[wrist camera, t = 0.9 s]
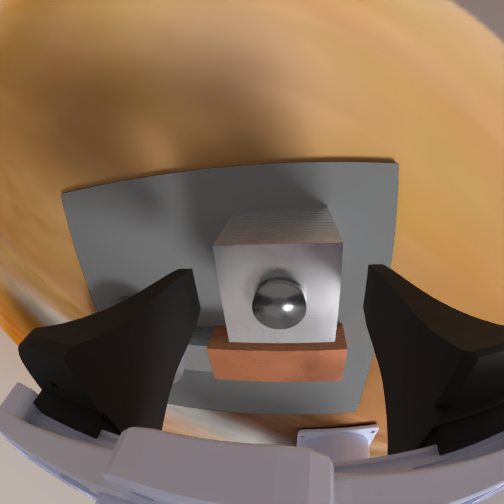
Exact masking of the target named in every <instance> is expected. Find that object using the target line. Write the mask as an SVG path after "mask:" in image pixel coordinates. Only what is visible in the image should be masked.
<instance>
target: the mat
mask: <svg viewBox="0 0 504 504" xmlns="http://www.w3.org/2000/svg"><path fill="white" fill-rule="evenodd" d="M398 171H399V164H398V163H388V162H348V161H331V162H290V163H269V164H254V165H240V166H229V167H218V168H208V169H199V170H191V171H183V172H175V173H168V174H161V175H154V176H148V177H142V178H136V179H130V180H124V181H119V182H113V183H108V184H103V185H98V186H93V187H89V188H84V189H79V190H75V191H71V192H66V193H63V194H61V197H62V202H63V206H64V210H65V214H66V218H67V222H68V226H69V229H70V233H71V236H72V240H73V243H74V247H75V250H76V253H77V256H78V259H79V262H80V265H81V268H82V271H83V274H84V277H85V280H86V282H87V285H88V288H89V290H90V293H91V296H92V298H93V301H94V303H95V306H96V308H97V310H98V312H100V311H103V310H105V309H107V308H108V307H109V305H110V304H111V303H112V302H113V301H114V300H116V299H117V298H119V297H122V296H130V295H135V294H136V293H138V292H140V291H142V290H143V289H145V288H147V287H148V286H150V285H151V284H153V283H155V282H156V281H158V280H160V279H161V278H163V277H164V276H166V275H168V274H169V273H171V272H173V271H175V270H177V269H192V270H193V274H194V279H195V284H196V289H197V293H198V298H199V302H200V306H201V310H200V314H199V318H198V322H197V325H196V327H215V325H225V326H226V322H225V316H224V311H223V305H222V300H221V294H220V288H219V282H218V276H217V270H216V264H215V258H214V252H213V245H214V243H215V241H216V240H217V238H218V237H219V235H220V234H221V232H222V230H223V229H224V227H225V226H226V224H227V223H228V221H229V219H230V218H231V216H232V215H233V213H234V212H235V210H245V209H266V208H291V207H328V208H329V210H330V213H331V215H332V217H333V219H334V222H335V224H336V226H337V229H338V231H339V234H340V236H341V238H342V241H343V256H342V273H341V287H340V299H339V310H338V320H337V325H343V328H344V333H345V339H346V344H347V355H346V360H345V366H344V371H343V376H342V380H338V381H315V382H263V381H240V380H225V379H215V377H214V374H213V372H206V371H196V370H187V369H185V370H184V372H183V375H182V377H181V378H180V380H178V381H177V382H176V383H174V384H172V388H171V391H170V395H169V399H168V403H167V404H173V405H179V406H185V407H192V408H199V409H207V410H215V411H225V412H236V413H250V414H272V415H313V414H335V413H349V412H356V410H357V407H358V404H359V401H360V398H361V395H362V391H363V388H364V385H365V382H366V378H367V375H368V371H369V368H370V364H371V361H372V357H373V353H374V348H373V345H372V342H371V339H370V335H369V332H368V329H367V326H366V320H365V315H364V309H363V303H364V296H365V289H366V281H367V272H368V265H370V264H383V265H385V266H387V267H388V268H391V261H392V253H393V245H394V236H395V225H396V213H397V198H398Z"/></svg>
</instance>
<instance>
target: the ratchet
mask: <svg viewBox="0 0 504 504" xmlns="http://www.w3.org/2000/svg"><path fill="white" fill-rule="evenodd" d="M131 296H133V295H130V296H122V297H119V298H117V299H116V300H114V301H113V302H112V303H111V304H110V305H109V307H108V308H110V307H112V306H114V305H116V304H118V303H120V302H122V301H124V300H126V299H128V298H129V297H131ZM346 355H347V344H346V339H345V333H344V328H343V325H337V329H336V337H335V342H317V343H243V342H229V338H228V333H227V327H226V326H225V325H215V327H196V328H195V330H194V333H193V335H192V337H191V340H190V342H189V344H188V346H187V349H186V351H185V353H184V355H183V358H182V360H181V362H180V364H179V367H178V369H177V372H176V374H175V378H174V381H173V384H174V383H176V382H177V381H178V380H180V378H181V377H182V375H183V372H184V370H185V369H187V370H196V371H206V372H213V374H214V377H215V379H225V380H240V381H263V382H315V381H338V380H342V376H343V371H344V366H345V360H346Z"/></svg>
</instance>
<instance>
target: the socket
mask: <svg viewBox="0 0 504 504" xmlns="http://www.w3.org/2000/svg"><path fill="white" fill-rule="evenodd" d="M213 252H214V258H215V264H216V270H217V276H218V282H219V288H220V294H221V300H222V305H223V311H224V316H225V322H226V327H227V333H228V338H229V342H243V343H317V342H335V337H336V329H337V320H338V310H339V299H340V287H341V273H342V256H343V241H342V238H341V236H340V234H339V231H338V229H337V226H336V224H335V222H334V219H333V217H332V215H331V213H330V210H329V208H328V207H291V208H266V209H245V210H235V212H234V213H233V215H232V216H231V218H230V219H229V221H228V223H227V224H226V226H225V227H224V229H223V230H222V232H221V234H220V235H219V237H218V238H217V240H216V241H215V243H214V245H213Z"/></svg>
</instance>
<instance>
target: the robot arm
mask: <svg viewBox="0 0 504 504" xmlns="http://www.w3.org/2000/svg"><path fill="white" fill-rule="evenodd" d="M363 309H364V315H365V320H366V326H367V329H368V332H369V335H370V339H371V342H372V345H373V348H374V351H375V354H376V358H377V361H378V364H379V368H380V372H381V376H382V381H383V388H384V395H385V404H386V414H387V431H388V455H387V456H381V457H374V458H370V455H369V445H370V444H371V442H372V440H373V438H374V436H375V435H376V433H377V431H378V429H379V426H378V425H377V424H373V425H365V426H356V427H345V428H330V429H303V430H299V431H298V434H297V446H296V447H293V446H284V445H268V444H250V443H238V442H228V441H219V440H212V439H205V438H198V437H192V436H186V435H181V434H176V433H171V432H166V431H162V426H163V421H164V416H165V411H166V407H167V403H168V399H169V395H170V391H171V388H172V384H173V381H174V378H175V374H176V372H177V369H178V367H179V364H180V362H181V360H182V358H183V355H184V353H185V351H186V349H187V346H188V344H189V342H190V340H191V337H192V335H193V333H194V330H195V328H196V325H197V322H198V318H199V314H200V310H201V306H200V302H199V298H198V293H197V289H196V284H195V279H194V274H193V270H192V269H177V270H175V271H173V272H171V273H169V274H168V275H166V276H164V277H163V278H161V279H160V280H158V281H156V282H155V283H153V284H151V285H150V286H148V287H147V288H145V289H143V290H142V291H140V292H138V293H136V294H135V295H133V296H131V297H129V298H128V299H126V300H124V301H122V302H120V303H118V304H116V305H114V306H112V307H110V308H107V309H105V310H103V311H100V312H97V313H95V314H92V315H89V316H87V317H84V318H81V319H77V320H74V321H70V322H66V323H62V324H58V325H52V326H47V327H41V328H35V329H34V330H32V331H31V332H30V333H29V334H28V335H27V337H26V338H25V339H24V340H23V341H22V342H21V343H20V344H19V347H18V351H19V355H20V358H21V360H22V362H23V363H24V365H25V367H26V368H27V370H28V371H29V373H30V374H31V376H32V377H33V378H34V380H35V381H36V382H37V384H38V385H39V386H40V388H41V389H42V391H41V392H40V394H39V395H38V394H37V393H36V392H35V391H33V390H32V389H30V388H28V387H26V386H24V385H23V384H21V383H17V384H16V385H15V386H14V388H13V389H12V390H11V392H10V393H9V395H8V396H7V397H6V399H5V400H4V402H3V403H2V404H1V406H0V434H1V435H2V436H3V437H4V438H5V439H6V440H8V441H9V442H10V443H11V444H12V445H13V446H14V447H15V448H17V449H18V450H19V451H20V452H21V453H22V454H24V455H25V456H26V457H27V458H28V459H30V460H31V461H33V462H34V463H35V464H37V465H38V466H40V467H41V468H43V469H44V470H46V471H47V472H48V473H50V474H52V475H53V476H55V477H56V478H58V479H59V480H61V481H63V482H65V483H66V484H68V485H69V486H71V487H73V488H74V489H76V490H78V491H80V492H81V493H83V494H85V495H87V496H89V497H91V498H93V499H95V500H97V501H96V504H477V503H479V502H481V501H483V500H485V499H487V498H489V497H491V496H492V495H494V494H496V493H498V492H500V491H501V490H503V489H504V326H503V325H498V324H495V323H491V322H488V321H485V320H481V319H478V318H476V317H473V316H470V315H468V314H465V313H463V312H460V311H458V310H456V309H454V308H452V307H450V306H448V305H446V304H444V303H442V302H440V301H438V300H436V299H435V298H433V297H431V296H430V295H428V294H427V293H425V292H423V291H422V290H420V289H419V288H417V287H416V286H414V285H413V284H411V283H410V282H409V281H407V280H406V279H404V278H403V277H401V276H400V275H399V274H397V273H396V272H394V271H393V270H391V269H390V268H388V267H387V266H385V265H383V264H370V265H368V272H367V281H366V289H365V296H364V303H363Z"/></svg>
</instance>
